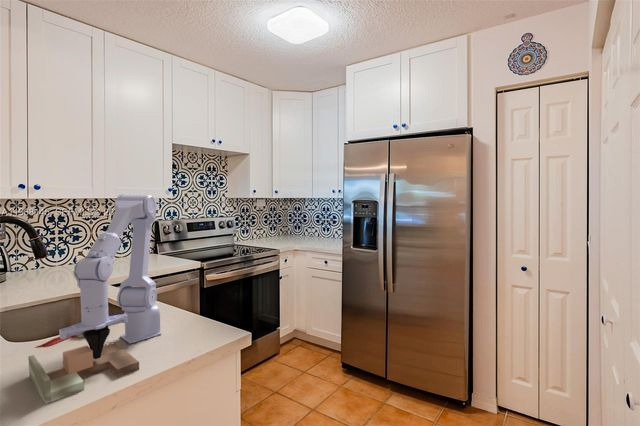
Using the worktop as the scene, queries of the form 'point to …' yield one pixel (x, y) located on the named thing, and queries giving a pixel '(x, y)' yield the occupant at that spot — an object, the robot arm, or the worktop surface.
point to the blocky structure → (79, 373)
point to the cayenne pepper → (54, 341)
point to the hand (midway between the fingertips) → (96, 357)
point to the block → (77, 359)
